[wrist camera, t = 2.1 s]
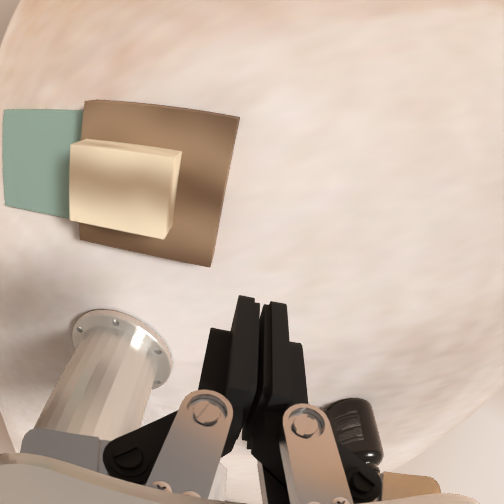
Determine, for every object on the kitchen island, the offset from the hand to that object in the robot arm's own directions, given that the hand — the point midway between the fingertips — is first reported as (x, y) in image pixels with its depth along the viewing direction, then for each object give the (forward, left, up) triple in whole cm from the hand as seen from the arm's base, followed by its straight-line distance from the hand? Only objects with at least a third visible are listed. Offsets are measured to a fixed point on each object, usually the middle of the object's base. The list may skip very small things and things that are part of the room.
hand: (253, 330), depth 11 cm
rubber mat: (0, +20, -16) cm, 26 cm away
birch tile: (0, +10, -14) cm, 17 cm away
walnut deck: (0, +9, -16) cm, 18 cm away
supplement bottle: (-26, -18, -16) cm, 36 cm away
